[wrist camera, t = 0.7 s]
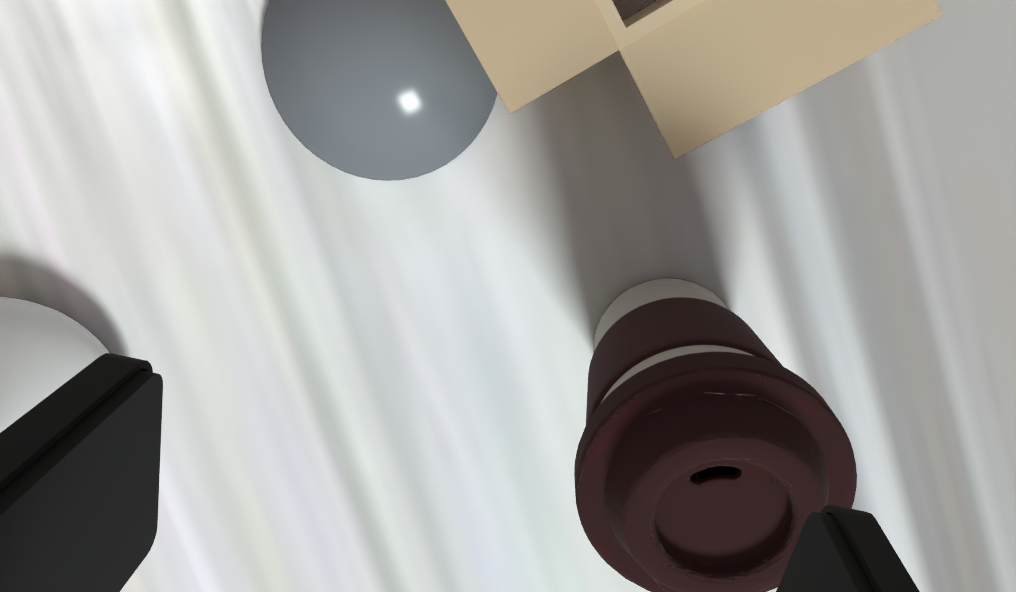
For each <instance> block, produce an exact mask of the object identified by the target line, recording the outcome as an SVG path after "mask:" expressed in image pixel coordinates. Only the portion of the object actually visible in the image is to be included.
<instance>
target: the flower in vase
mask: <svg viewBox="0 0 1016 592" xmlns="http://www.w3.org/2000/svg"><path fill="white" fill-rule="evenodd" d="M105 353H109V352H108V350H107V349H106V348H105V347H104V346H103V344H102V343H101V342H100V341H99V340H98V339H97V338H96V337H95V336H94V335H93V334H92V333H91V332H90V331H88V330H87V329H86V328H84V327H83V326H82V325H80V324H79V323H78V322H76V321H75V320H73V319H71V318H70V317H68V316H66V315H65V314H63V313H61V312H58V311H56V310H54V309H52V308H49V307H46V306H43V305H40V304H37V303H34V302H30V301H26V300H21V299H16V298H6V297H0V433H1V432H2V431H3V430H5V429H6V428H7V427H9V426H10V425H11V424H12V423H14V422H15V421H16V420H18V419H19V418H20V417H22V416H23V415H24V414H25V413H27V412H28V411H29V410H31V409H32V408H33V407H35V406H36V405H37V404H38V403H40V402H41V401H42V400H44V399H45V398H46V397H48V396H49V395H50V394H51V393H53V392H54V391H55V390H57V389H58V388H59V387H61V386H62V385H63V384H64V383H66V382H67V381H68V380H70V379H71V378H72V377H74V376H75V375H76V374H78V373H79V372H80V371H81V370H83V369H84V368H85V367H87V366H88V365H89V364H91V363H92V362H93V361H94V360H96V359H97V358H98V357H100V356H101V355H103V354H105Z"/></svg>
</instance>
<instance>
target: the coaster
mask: <svg viewBox="0 0 1016 592" xmlns="http://www.w3.org/2000/svg"><path fill="white" fill-rule="evenodd" d="M261 46H262V63H263V69H264V74H265V79H266V82H267V86H268V89H269V93H270V95H271V97H272V100H273V102H274V104H275V107H276V109H277V110H278V112H279V114H280V116H281V117H282V119H283V121H284V122H285V124H286V125H287V126H288V128H289V129H290V130H291V132H292V133H293V134H294V136H295V137H296V138H297V139H298V140H299V141H300V142H301V143H302V144H303V145H304V146H305V147H306V148H307V149H308V150H310V151H311V152H312V153H313V154H314V155H316V156H317V157H318V158H320V159H322V160H323V161H325V162H326V163H328V164H329V165H331V166H333V167H335V168H337V169H339V170H341V171H344V172H346V173H349V174H352V175H355V176H358V177H363V178H368V179H373V180H387V181H389V180H404V179H409V178H414V177H418V176H421V175H424V174H427V173H430V172H432V171H434V170H436V169H438V168H440V167H442V166H444V165H446V164H447V163H449V162H450V161H452V160H453V159H455V158H456V157H457V156H458V155H459V154H461V153H462V152H463V151H464V150H465V149H466V148H467V147H468V146H469V145H470V144H471V143H472V141H473V140H474V139H475V138H476V137H477V135H478V134H479V132H480V131H481V129H482V128H483V126H484V125H485V123H486V121H487V119H488V117H489V115H490V113H491V111H492V109H493V106H494V103H495V100H496V97H497V94H498V92H497V91H496V89H495V87H494V85H493V84H492V82H491V80H490V78H489V77H488V75H487V73H486V71H485V69H484V68H483V66H482V64H481V62H480V61H479V59H478V57H477V55H476V54H475V52H474V50H473V48H472V47H471V45H470V43H469V41H468V40H467V38H466V36H465V34H464V32H463V31H462V29H461V27H460V25H459V24H458V22H457V20H456V18H455V17H454V15H453V13H452V11H451V10H450V8H449V6H448V4H447V2H446V1H445V0H270V3H269V6H268V8H267V11H266V15H265V20H264V25H263V31H262V45H261Z"/></svg>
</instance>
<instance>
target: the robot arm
mask: <svg viewBox="0 0 1016 592" xmlns="http://www.w3.org/2000/svg"><path fill="white" fill-rule="evenodd" d="M162 395H163V380H162V377H161V375H160V374H157V373H153V370H152V367H151V364H150V363H149V362H148V361H145V360H140V359H135V358H131V357H126V356H121V355H116V354H111V353H105V354H103V355H101V356H100V357H98V358H97V359H96V360H94V361H93V362H92V363H91V364H89V365H88V366H87V367H85V368H84V369H83V370H81V371H80V372H79V373H78V374H76V375H75V376H74V377H72V378H71V379H70V380H68V381H67V382H66V383H64V384H63V385H62V386H61V387H59V388H58V389H57V390H55V391H54V392H53V393H51V394H50V395H49V396H48V397H46V398H45V399H44V400H42V401H41V402H40V403H38V404H37V405H36V406H35V407H33V408H32V409H31V410H29V411H28V412H27V413H25V414H24V415H23V416H22V417H20V418H19V419H18V420H16V421H15V422H14V423H12V424H11V425H10V426H9V427H7V428H6V429H5V430H3V431H2V432H1V433H0V592H120V590H121V589H122V588H123V586H124V585H125V584H126V582H127V581H128V580H129V578H130V577H131V576H132V574H133V573H134V572H135V570H136V569H137V568H138V566H139V565H140V564H141V562H142V561H143V560H144V558H145V557H146V556H147V554H148V552H149V551H150V549H151V547H152V545H153V542H154V539H155V536H156V532H157V520H158V495H159V470H160V445H161V420H162ZM776 592H919V590H918V588H917V587H916V585H915V583H914V582H913V580H912V578H911V577H910V575H909V573H908V572H907V570H906V569H905V567H904V565H903V564H902V562H901V560H900V559H899V557H898V555H897V554H896V552H895V550H894V549H893V547H892V545H891V544H890V542H889V540H888V539H887V537H886V535H885V534H884V532H883V530H882V529H881V527H880V525H879V524H878V522H877V520H876V519H875V518H874V516H873V515H872V514H870V513H868V512H864V511H859V510H854V509H850V508H845V507H840V506H835V505H831V504H830V505H827V506H825V507H824V508H823V509H822V510H821V512H820V513H819V512H812V513H811V514H810V515H809V516H808V518H807V519H806V522H805V524H804V526H803V529H802V531H801V534H800V536H799V538H798V541H797V543H796V545H795V548H794V550H793V553H792V555H791V557H790V560H789V562H788V565H787V567H786V569H785V572H784V574H783V577H782V579H781V581H780V584H779V586H778V589H777V591H776Z"/></svg>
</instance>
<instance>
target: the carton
mask: <svg viewBox="0 0 1016 592" xmlns="http://www.w3.org/2000/svg"><path fill="white" fill-rule="evenodd" d="M445 1H446V2H447V4H448V6H449V8H450V10H451V11H452V13H453V15H454V17H455V18H456V20H457V22H458V24H459V25H460V27H461V29H462V31H463V32H464V34H465V36H466V38H467V40H468V41H469V43H470V45H471V47H472V48H473V50H474V52H475V54H476V55H477V57H478V59H479V61H480V62H481V64H482V66H483V68H484V69H485V71H486V73H487V75H488V77H489V78H490V80H491V82H492V84H493V85H494V87H495V89H496V91H497V92H498V94H499V96H500V98H501V99H502V101H503V103H504V105H505V107H506V108H507V110H508V112H509V114H511V113H512V112H514V111H516V110H518V109H519V108H521V107H523V106H524V105H526V104H528V103H529V102H531V101H533V100H535V99H536V98H538V97H540V96H541V95H543V94H545V93H547V92H548V91H550V90H552V89H553V88H555V87H557V86H558V85H560V84H562V83H564V82H565V81H567V80H569V79H570V78H572V77H574V76H576V75H577V74H579V73H581V72H582V71H584V70H586V69H587V68H589V67H591V66H593V65H594V64H596V63H598V62H599V61H601V60H603V59H605V58H606V57H608V56H610V55H611V54H613V53H615V52H616V51H618V50H619V52H620V54H621V56H622V58H623V60H624V61H625V63H626V65H627V67H628V69H629V71H630V73H631V75H632V77H633V79H634V81H635V83H636V85H637V87H638V89H639V91H640V93H641V95H642V97H643V99H644V101H645V103H646V105H647V107H648V109H649V111H650V113H651V115H652V116H653V118H654V120H655V122H656V124H657V126H658V128H659V130H660V132H661V134H662V136H663V138H664V140H665V142H666V144H667V146H668V148H669V150H670V152H671V154H672V156H673V158H674V159H677V158H679V157H681V156H683V155H685V154H686V153H688V152H690V151H692V150H694V149H696V148H698V147H699V146H701V145H703V144H705V143H707V142H709V141H710V140H712V139H714V138H716V137H718V136H720V135H722V134H723V133H725V132H727V131H729V130H731V129H733V128H734V127H736V126H738V125H740V124H742V123H744V122H746V121H747V120H749V119H751V118H753V117H755V116H757V115H758V114H760V113H762V112H764V111H766V110H768V109H770V108H771V107H773V106H775V105H777V104H779V103H781V102H782V101H784V100H786V99H788V98H790V97H792V96H794V95H795V94H797V93H799V92H801V91H803V90H805V89H806V88H808V87H810V86H812V85H814V84H816V83H818V82H819V81H821V80H823V79H825V78H827V77H829V76H830V75H832V74H834V73H836V72H838V71H840V70H842V69H843V68H845V67H847V66H849V65H851V64H853V63H854V62H856V61H858V60H860V59H862V58H864V57H866V56H867V55H869V54H871V53H873V52H875V51H877V50H878V49H880V48H882V47H884V46H886V45H888V44H890V43H891V42H893V41H895V40H897V39H899V38H901V37H902V36H904V35H906V34H908V33H910V32H912V31H914V30H915V29H917V28H919V27H921V26H923V25H925V24H926V23H928V22H930V21H932V20H934V19H936V18H938V17H939V16H941V15H942V13H941V10H940V8H939V5H938V2H937V0H657V1H656V2H654V3H652V4H650V5H649V6H647V7H645V8H644V9H642V10H640V11H639V12H637V13H635V14H634V15H632V16H630V17H629V18H627V19H625V20H624V21H622V19H621V17H620V15H619V13H618V11H617V9H616V7H615V5H614V3H613V1H612V0H445Z"/></svg>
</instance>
